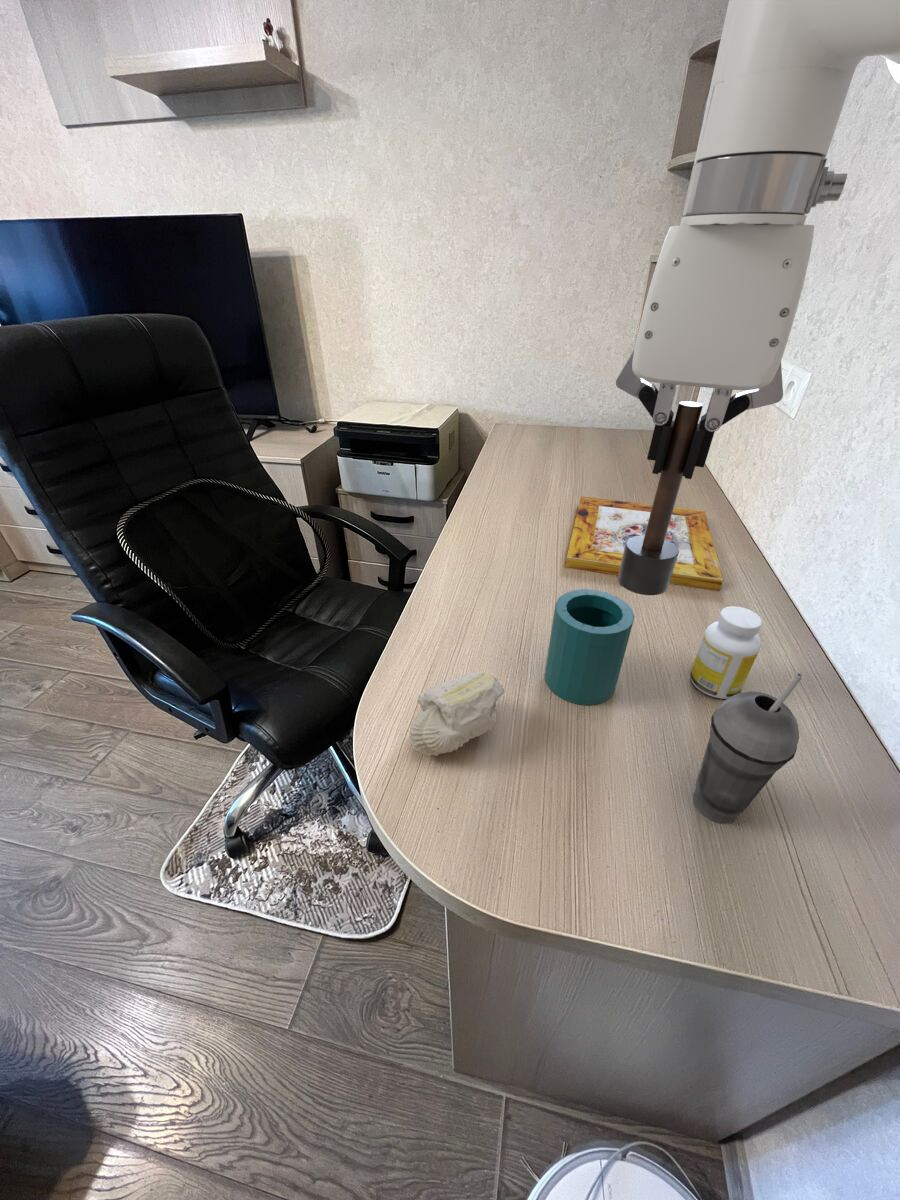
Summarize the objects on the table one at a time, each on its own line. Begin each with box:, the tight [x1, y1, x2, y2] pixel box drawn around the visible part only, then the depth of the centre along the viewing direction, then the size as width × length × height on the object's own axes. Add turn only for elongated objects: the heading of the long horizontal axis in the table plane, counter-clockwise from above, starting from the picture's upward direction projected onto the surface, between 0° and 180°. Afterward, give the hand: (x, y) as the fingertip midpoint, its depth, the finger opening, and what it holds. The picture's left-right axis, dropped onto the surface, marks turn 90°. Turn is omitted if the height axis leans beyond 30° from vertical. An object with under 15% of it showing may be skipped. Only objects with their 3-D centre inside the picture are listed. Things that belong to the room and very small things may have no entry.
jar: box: [544, 588, 635, 706], centre depth 66 cm, size 10×10×12 cm
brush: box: [617, 400, 704, 596], centre depth 45 cm, size 5×5×17 cm
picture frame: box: [564, 496, 724, 592], centre depth 103 cm, size 27×2×30 cm
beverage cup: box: [692, 672, 804, 825], centre depth 48 cm, size 7×7×20 cm
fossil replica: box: [409, 671, 505, 757], centre depth 59 cm, size 12×8×10 cm
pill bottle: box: [689, 605, 763, 700], centre depth 66 cm, size 6×6×12 cm
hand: (672, 469), depth 43 cm, fingers closed on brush
